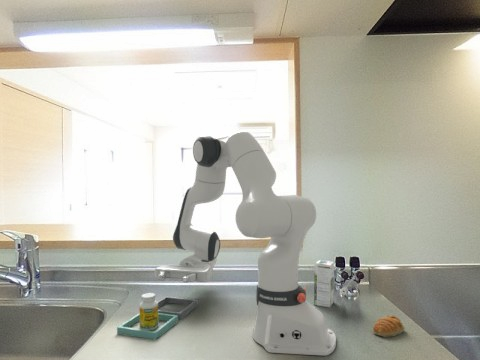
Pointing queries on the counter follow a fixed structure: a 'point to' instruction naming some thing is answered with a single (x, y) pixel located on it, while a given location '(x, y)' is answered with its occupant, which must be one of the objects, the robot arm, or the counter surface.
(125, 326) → the bin
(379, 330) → the pastry
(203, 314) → the counter surface
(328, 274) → the syrup box
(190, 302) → the bin
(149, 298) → the supplement bottle
